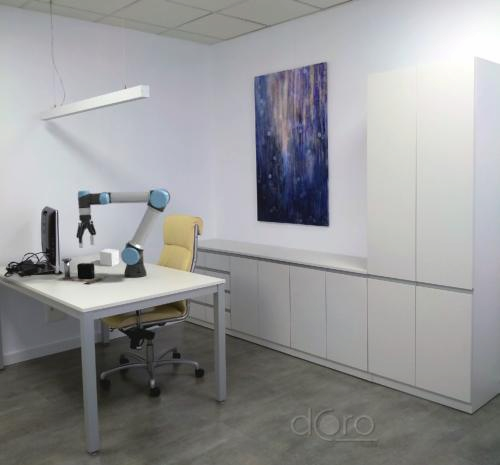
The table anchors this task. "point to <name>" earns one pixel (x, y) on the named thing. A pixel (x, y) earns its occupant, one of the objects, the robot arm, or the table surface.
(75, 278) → the walnut board
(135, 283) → the table surface
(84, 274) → the electronic device
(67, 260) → the bobbin
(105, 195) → the robot arm
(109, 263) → the white rectangular block
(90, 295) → the table surface
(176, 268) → the table surface
